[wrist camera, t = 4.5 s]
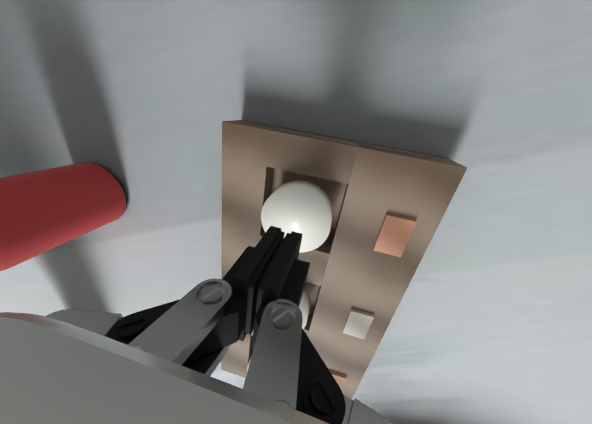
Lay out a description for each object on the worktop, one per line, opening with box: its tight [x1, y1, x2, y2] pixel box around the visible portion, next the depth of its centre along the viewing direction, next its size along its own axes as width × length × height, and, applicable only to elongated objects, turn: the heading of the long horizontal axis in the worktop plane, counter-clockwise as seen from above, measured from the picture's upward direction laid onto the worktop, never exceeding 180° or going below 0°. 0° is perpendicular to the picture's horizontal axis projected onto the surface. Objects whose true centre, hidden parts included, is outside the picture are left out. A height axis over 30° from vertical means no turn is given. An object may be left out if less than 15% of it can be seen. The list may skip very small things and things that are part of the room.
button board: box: [221, 120, 467, 399], centre depth 22 cm, size 30×16×3 cm, turn 172°
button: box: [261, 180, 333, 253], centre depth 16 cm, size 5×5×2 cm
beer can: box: [0, 163, 126, 271], centre depth 19 cm, size 7×7×12 cm
